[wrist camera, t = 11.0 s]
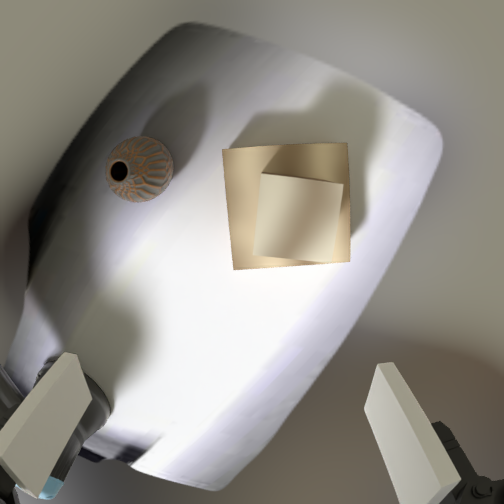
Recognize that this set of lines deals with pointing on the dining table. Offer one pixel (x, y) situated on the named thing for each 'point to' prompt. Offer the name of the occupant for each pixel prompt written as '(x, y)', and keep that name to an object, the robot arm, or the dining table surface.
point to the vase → (139, 169)
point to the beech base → (290, 163)
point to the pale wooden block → (297, 217)
